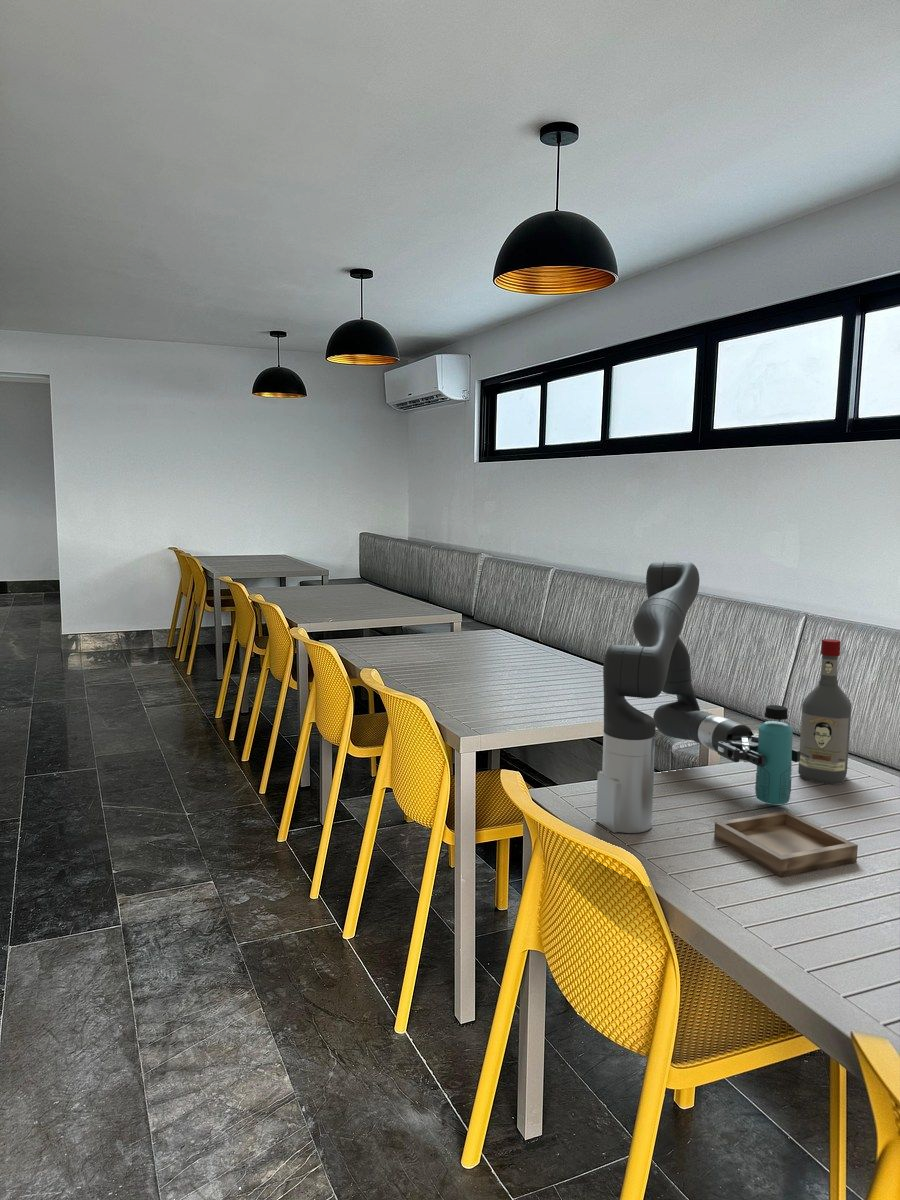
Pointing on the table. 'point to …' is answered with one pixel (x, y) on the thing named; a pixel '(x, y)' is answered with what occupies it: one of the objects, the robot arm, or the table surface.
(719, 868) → the table surface
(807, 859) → the tray
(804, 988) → the table surface
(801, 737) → the liquor
